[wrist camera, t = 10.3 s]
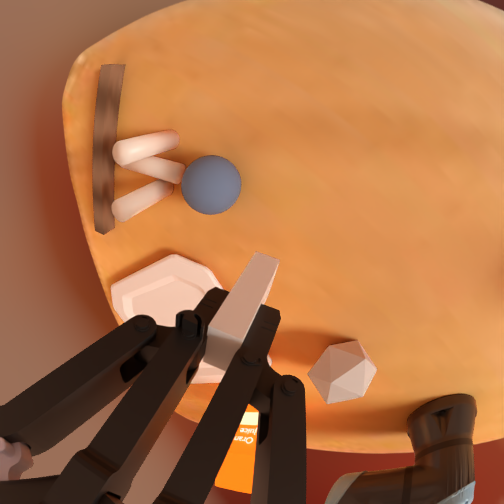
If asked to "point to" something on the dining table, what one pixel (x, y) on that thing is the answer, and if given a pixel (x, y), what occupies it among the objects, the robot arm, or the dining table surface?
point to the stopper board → (105, 144)
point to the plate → (167, 297)
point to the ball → (211, 184)
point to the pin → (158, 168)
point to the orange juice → (240, 456)
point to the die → (342, 372)
